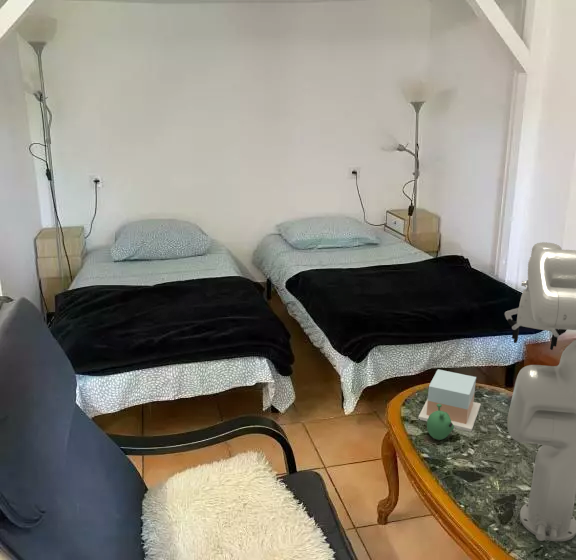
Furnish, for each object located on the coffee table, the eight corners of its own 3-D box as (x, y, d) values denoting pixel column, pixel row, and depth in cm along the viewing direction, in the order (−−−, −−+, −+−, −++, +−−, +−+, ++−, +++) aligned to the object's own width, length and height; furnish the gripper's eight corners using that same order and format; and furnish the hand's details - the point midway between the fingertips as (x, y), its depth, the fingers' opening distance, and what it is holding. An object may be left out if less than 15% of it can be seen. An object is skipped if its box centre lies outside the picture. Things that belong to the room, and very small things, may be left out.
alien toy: (455, 444, 173) (458, 414, 169) (428, 444, 173) (430, 414, 169) (449, 431, 179) (452, 401, 176) (423, 430, 179) (426, 401, 176)
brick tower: (471, 431, 179) (475, 399, 175) (418, 419, 185) (420, 387, 182) (480, 406, 192) (483, 375, 188) (430, 395, 199) (432, 365, 195)
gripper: (506, 287, 165) (499, 343, 171) (575, 297, 158) (565, 356, 163) (510, 279, 171) (503, 334, 177) (577, 288, 164) (567, 345, 169)
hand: (533, 344), depth 170 cm, fingers open, 9 cm apart
